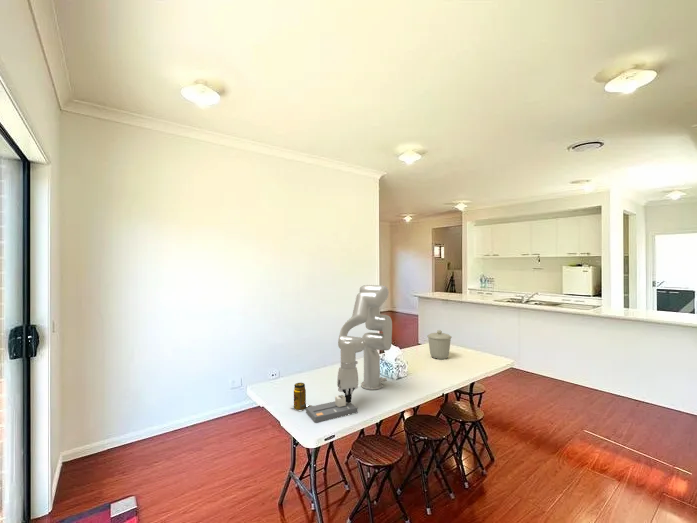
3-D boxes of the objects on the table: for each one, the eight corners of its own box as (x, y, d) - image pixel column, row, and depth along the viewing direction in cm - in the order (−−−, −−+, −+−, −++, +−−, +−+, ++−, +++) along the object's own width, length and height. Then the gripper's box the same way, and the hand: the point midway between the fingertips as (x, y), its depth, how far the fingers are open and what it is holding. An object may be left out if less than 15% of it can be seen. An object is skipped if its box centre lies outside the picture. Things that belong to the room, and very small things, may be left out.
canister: (446, 354, 269) (446, 327, 269) (455, 360, 251) (455, 332, 251) (424, 354, 268) (424, 328, 268) (431, 361, 250) (431, 332, 250)
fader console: (346, 403, 175) (345, 398, 175) (357, 412, 164) (357, 407, 164) (306, 412, 164) (306, 407, 164) (315, 422, 154) (315, 417, 154)
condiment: (290, 408, 170) (290, 384, 170) (302, 402, 176) (302, 379, 176) (299, 412, 165) (299, 387, 165) (312, 406, 172) (312, 383, 172)
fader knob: (342, 402, 169) (342, 394, 169) (345, 405, 166) (345, 397, 166) (335, 404, 167) (335, 396, 167) (338, 407, 164) (338, 398, 164)
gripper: (357, 361, 175) (357, 396, 175) (331, 365, 168) (331, 401, 168) (364, 364, 169) (364, 401, 169) (338, 369, 162) (338, 407, 162)
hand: (348, 401), depth 168 cm, fingers closed
